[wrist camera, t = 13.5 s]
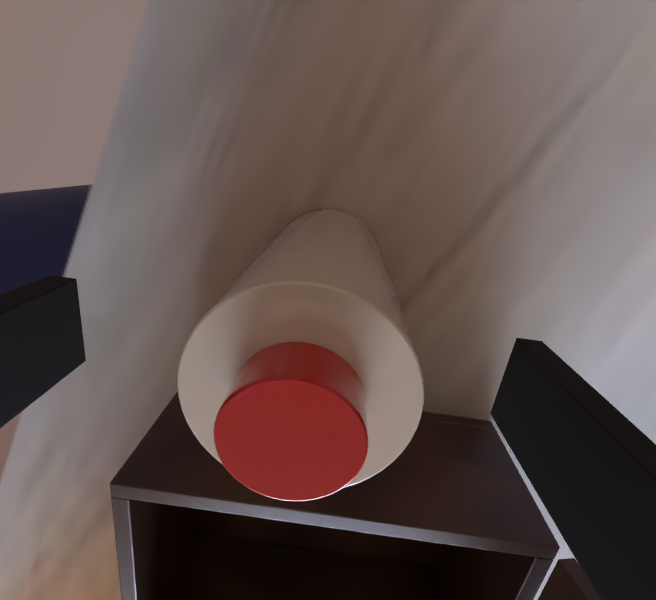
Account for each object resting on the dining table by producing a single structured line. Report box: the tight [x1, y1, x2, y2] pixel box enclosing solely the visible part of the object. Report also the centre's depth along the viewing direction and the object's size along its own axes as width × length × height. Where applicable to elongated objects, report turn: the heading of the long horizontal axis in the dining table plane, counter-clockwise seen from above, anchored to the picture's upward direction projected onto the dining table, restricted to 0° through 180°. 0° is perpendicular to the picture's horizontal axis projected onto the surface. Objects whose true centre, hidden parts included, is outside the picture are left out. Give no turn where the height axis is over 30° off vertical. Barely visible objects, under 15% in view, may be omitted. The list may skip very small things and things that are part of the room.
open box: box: [110, 392, 560, 600], centre depth 22 cm, size 20×14×8 cm
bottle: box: [177, 209, 424, 501], centre depth 14 cm, size 6×6×14 cm
